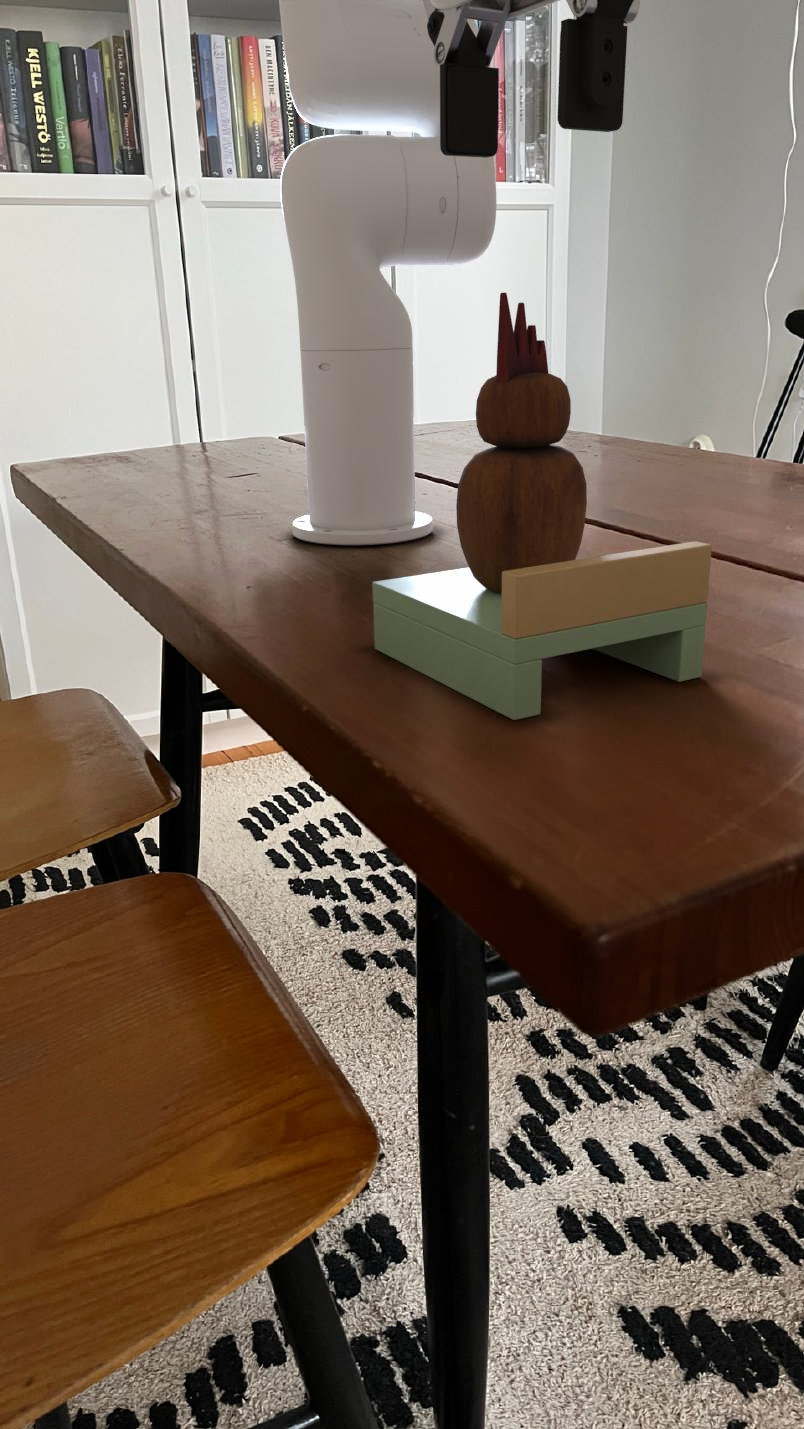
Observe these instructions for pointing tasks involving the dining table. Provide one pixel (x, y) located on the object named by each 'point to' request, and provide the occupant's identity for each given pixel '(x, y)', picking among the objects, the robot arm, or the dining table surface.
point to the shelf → (547, 621)
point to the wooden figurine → (520, 464)
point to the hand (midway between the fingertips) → (524, 143)
